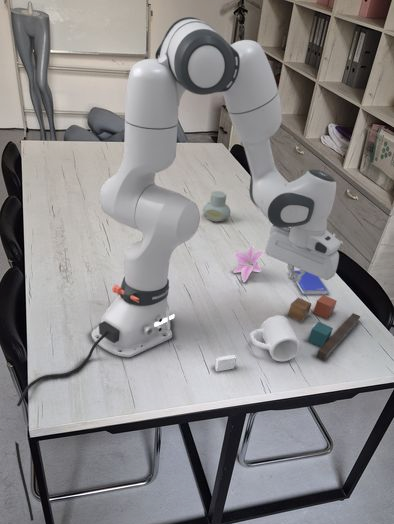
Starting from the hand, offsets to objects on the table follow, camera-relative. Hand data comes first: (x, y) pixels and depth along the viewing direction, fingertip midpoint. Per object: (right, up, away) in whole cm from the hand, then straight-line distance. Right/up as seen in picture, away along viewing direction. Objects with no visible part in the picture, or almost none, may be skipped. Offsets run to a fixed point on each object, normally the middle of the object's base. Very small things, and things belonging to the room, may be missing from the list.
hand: (294, 280), depth 136 cm
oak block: (+3, -9, +10) cm, 14 cm away
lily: (-11, +5, +26) cm, 28 cm away
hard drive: (+9, +2, +25) cm, 27 cm away
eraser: (-20, -24, -12) cm, 34 cm away
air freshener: (-20, +32, +57) cm, 69 cm away
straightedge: (+13, -16, +3) cm, 21 cm away
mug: (-8, -20, -4) cm, 22 cm away
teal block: (+7, -17, +1) cm, 18 cm away
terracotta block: (+11, -8, +12) cm, 18 cm away
